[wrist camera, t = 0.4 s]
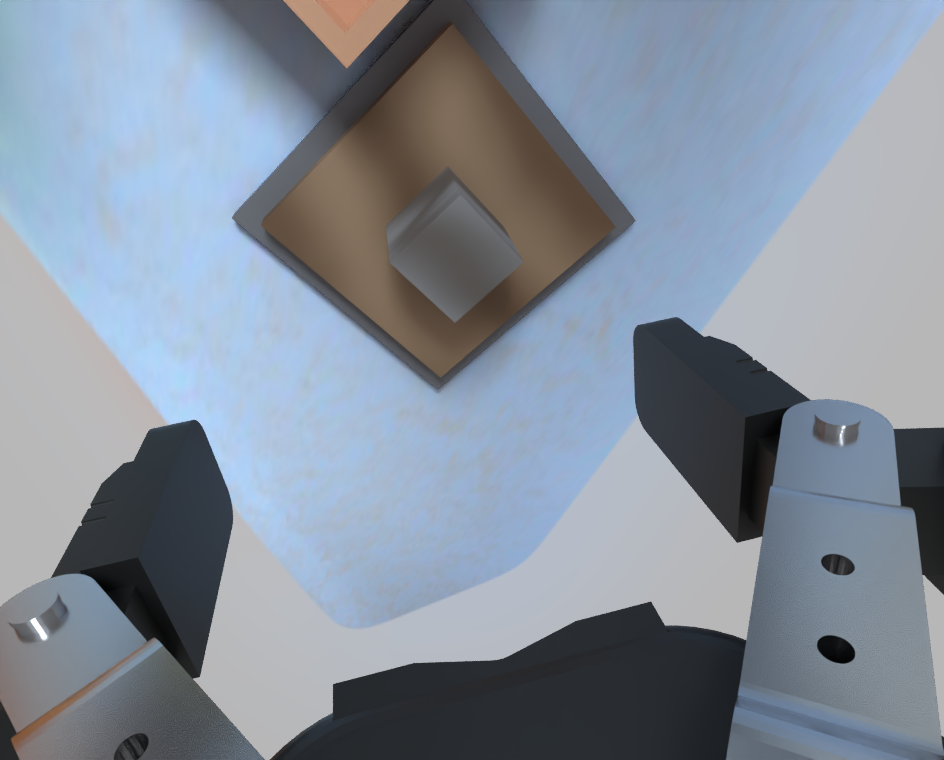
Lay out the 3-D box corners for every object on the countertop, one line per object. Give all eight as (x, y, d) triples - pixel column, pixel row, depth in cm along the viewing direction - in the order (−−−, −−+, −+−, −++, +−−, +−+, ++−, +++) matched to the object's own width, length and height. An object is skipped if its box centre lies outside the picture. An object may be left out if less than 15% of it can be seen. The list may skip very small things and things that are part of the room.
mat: (449, -18, 27) (450, -18, 27) (631, 216, 34) (635, 220, 33) (234, 214, 31) (231, 218, 30) (436, 383, 38) (438, 389, 37)
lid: (449, 21, 27) (468, 33, 23) (609, 220, 33) (649, 261, 28) (263, 218, 30) (246, 263, 26) (438, 368, 36) (450, 426, 32)
